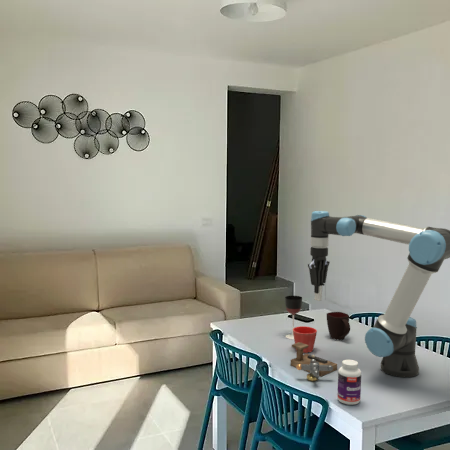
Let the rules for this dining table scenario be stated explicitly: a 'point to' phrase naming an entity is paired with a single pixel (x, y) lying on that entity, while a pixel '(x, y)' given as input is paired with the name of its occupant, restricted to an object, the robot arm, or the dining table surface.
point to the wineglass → (293, 309)
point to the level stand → (309, 359)
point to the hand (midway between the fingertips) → (318, 300)
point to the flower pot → (305, 337)
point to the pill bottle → (349, 383)
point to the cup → (338, 325)
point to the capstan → (314, 369)
